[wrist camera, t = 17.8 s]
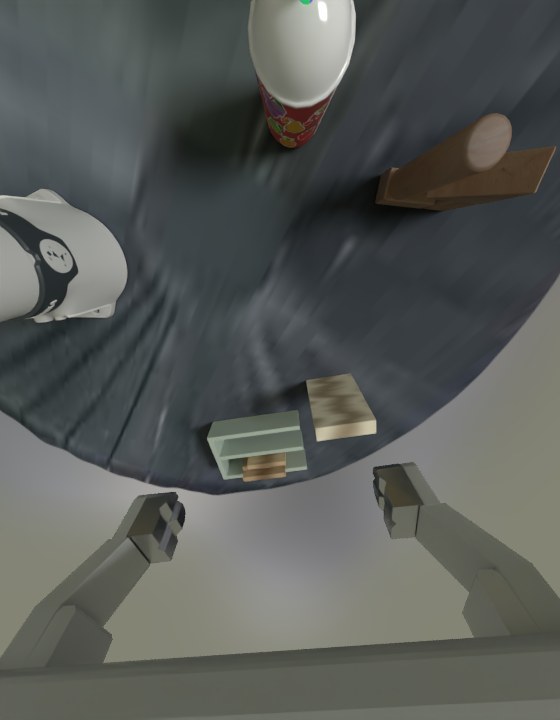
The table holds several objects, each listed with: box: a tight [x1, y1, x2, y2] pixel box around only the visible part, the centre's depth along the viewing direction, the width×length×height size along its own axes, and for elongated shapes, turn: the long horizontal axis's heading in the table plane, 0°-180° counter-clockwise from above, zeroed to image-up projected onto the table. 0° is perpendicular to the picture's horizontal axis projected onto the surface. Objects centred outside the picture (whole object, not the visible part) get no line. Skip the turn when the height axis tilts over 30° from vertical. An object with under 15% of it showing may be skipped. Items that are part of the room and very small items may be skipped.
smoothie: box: [248, 0, 356, 148], centre depth 22 cm, size 8×8×20 cm
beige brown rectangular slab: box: [306, 373, 376, 441], centre depth 42 cm, size 9×3×14 cm, turn 100°
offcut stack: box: [242, 452, 286, 482], centre depth 53 cm, size 10×4×8 cm, turn 100°
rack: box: [207, 410, 307, 479], centre depth 53 cm, size 19×13×5 cm, turn 100°
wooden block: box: [375, 113, 556, 211], centre depth 26 cm, size 4×11×18 cm, turn 85°
